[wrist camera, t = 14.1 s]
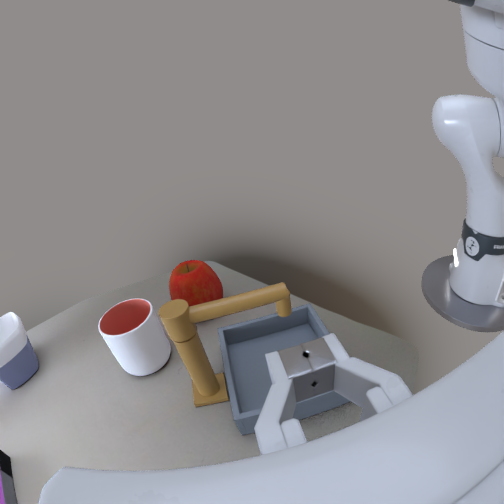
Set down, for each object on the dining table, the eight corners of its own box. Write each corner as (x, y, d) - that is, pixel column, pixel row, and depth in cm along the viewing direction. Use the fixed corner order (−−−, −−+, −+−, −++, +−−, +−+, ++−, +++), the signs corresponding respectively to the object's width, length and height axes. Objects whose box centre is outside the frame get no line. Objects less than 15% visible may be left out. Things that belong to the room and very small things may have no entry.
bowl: (-3, 372, 41) (-27, 337, 36) (35, 341, 52) (13, 306, 47) (7, 404, 33) (-25, 366, 28) (52, 367, 44) (24, 327, 39)
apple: (168, 310, 58) (152, 267, 53) (208, 287, 64) (196, 245, 59) (193, 332, 50) (175, 285, 46) (237, 304, 56) (225, 258, 52)
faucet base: (224, 375, 40) (202, 317, 35) (229, 400, 36) (205, 343, 30) (193, 382, 39) (165, 325, 34) (195, 407, 35) (163, 352, 30)
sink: (311, 323, 47) (310, 302, 45) (356, 399, 32) (359, 380, 30) (224, 347, 46) (217, 328, 44) (242, 435, 30) (234, 420, 28)
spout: (287, 302, 36) (282, 271, 34) (296, 319, 32) (292, 286, 30) (172, 332, 34) (159, 303, 32) (171, 351, 31) (157, 321, 29)
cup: (127, 344, 49) (105, 304, 45) (173, 335, 50) (155, 292, 46) (120, 382, 40) (91, 340, 36) (172, 374, 41) (148, 330, 37)
